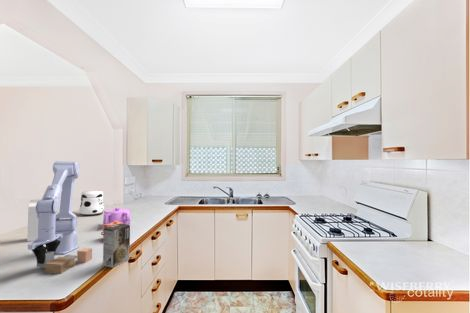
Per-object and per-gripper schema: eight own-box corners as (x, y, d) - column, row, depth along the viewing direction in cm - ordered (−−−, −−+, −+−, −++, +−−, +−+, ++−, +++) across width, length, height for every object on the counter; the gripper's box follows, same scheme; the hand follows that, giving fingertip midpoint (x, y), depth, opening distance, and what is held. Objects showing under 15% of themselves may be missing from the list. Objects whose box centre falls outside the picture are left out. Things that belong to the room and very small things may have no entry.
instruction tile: (66, 255, 114) (66, 254, 114) (78, 256, 113) (78, 255, 113) (52, 262, 106) (52, 261, 106) (65, 263, 105) (65, 262, 105)
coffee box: (119, 257, 113) (120, 222, 113) (129, 260, 110) (130, 224, 110) (101, 265, 104) (103, 227, 104) (112, 268, 102) (113, 229, 102)
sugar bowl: (122, 242, 133) (122, 223, 134) (95, 242, 132) (96, 223, 133) (130, 235, 146) (130, 218, 146) (106, 235, 145) (106, 218, 145)
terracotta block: (83, 258, 111) (83, 247, 111) (91, 259, 110) (92, 248, 111) (77, 262, 107) (77, 251, 107) (85, 262, 106) (85, 251, 107)
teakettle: (102, 230, 154) (103, 211, 154) (103, 223, 169) (103, 206, 170) (131, 227, 162) (132, 209, 162) (129, 221, 177) (130, 204, 177)
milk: (30, 238, 136) (31, 199, 137) (43, 237, 139) (44, 198, 139) (27, 241, 131) (28, 200, 131) (41, 240, 134) (42, 200, 134)
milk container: (108, 213, 199) (109, 192, 200) (86, 217, 185) (87, 194, 185) (96, 211, 209) (97, 190, 209) (75, 214, 194) (75, 192, 194)
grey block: (45, 262, 103) (45, 250, 103) (53, 263, 103) (54, 251, 103) (36, 266, 99) (37, 254, 99) (45, 267, 99) (46, 255, 99)
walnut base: (59, 264, 104) (59, 256, 104) (74, 265, 103) (74, 257, 103) (44, 272, 97) (45, 263, 97) (60, 273, 96) (61, 264, 96)
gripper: (52, 223, 109) (51, 253, 108) (21, 232, 94) (19, 268, 94) (67, 223, 108) (66, 254, 108) (37, 233, 93) (36, 269, 93)
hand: (45, 261), depth 101 cm, fingers closed on grey block, 4 cm apart
